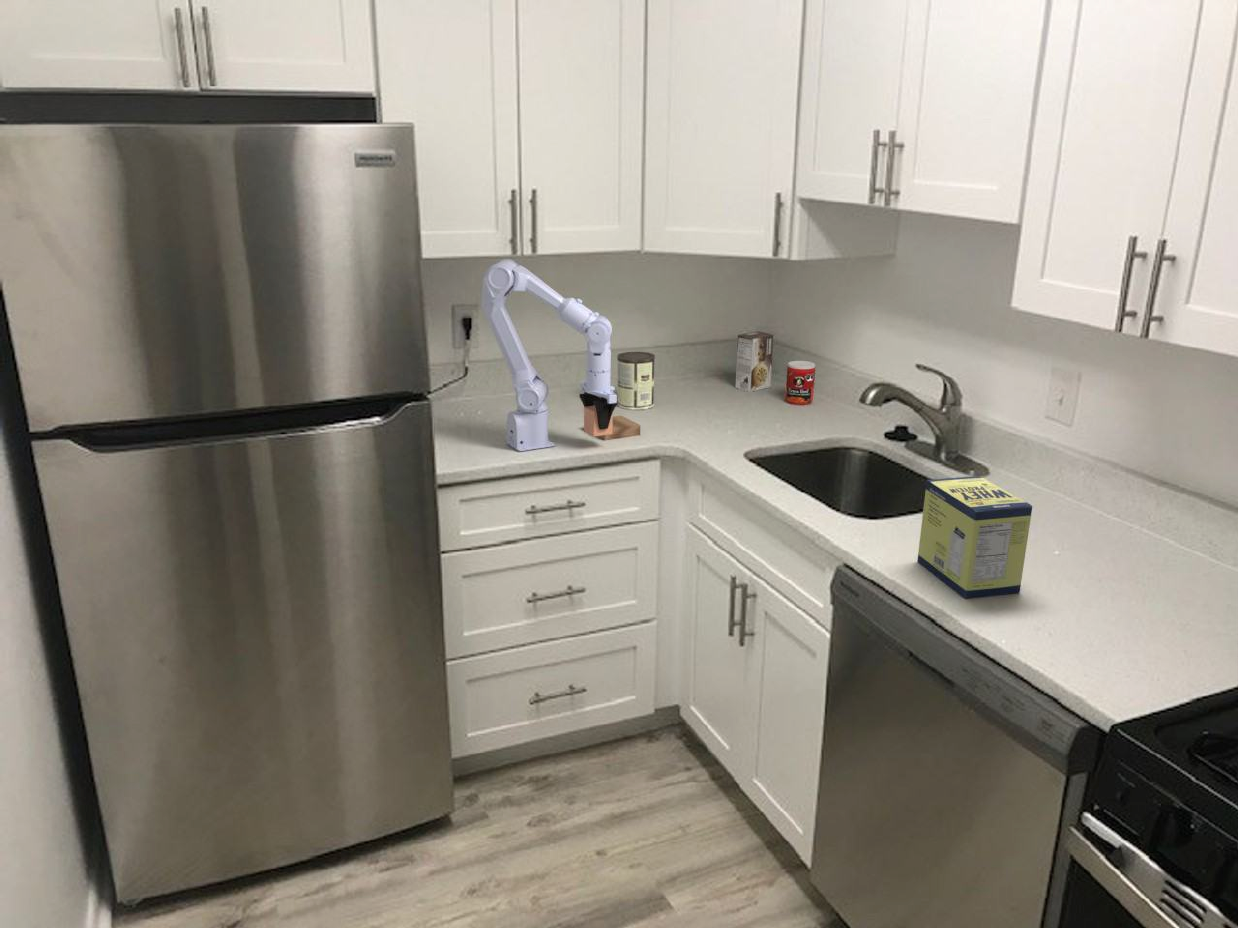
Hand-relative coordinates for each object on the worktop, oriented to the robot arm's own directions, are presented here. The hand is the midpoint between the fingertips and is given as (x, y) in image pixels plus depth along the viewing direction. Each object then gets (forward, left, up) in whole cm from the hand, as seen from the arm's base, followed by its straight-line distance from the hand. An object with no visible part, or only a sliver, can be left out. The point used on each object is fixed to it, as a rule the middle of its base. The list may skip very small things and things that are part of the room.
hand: (598, 425), depth 230 cm
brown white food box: (+68, +30, -6) cm, 75 cm away
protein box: (+22, -93, -6) cm, 96 cm away
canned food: (+70, +11, -6) cm, 71 cm away
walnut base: (+9, +9, -6) cm, 14 cm away
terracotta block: (0, 0, -2) cm, 2 cm away
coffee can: (+27, +29, -6) cm, 40 cm away
